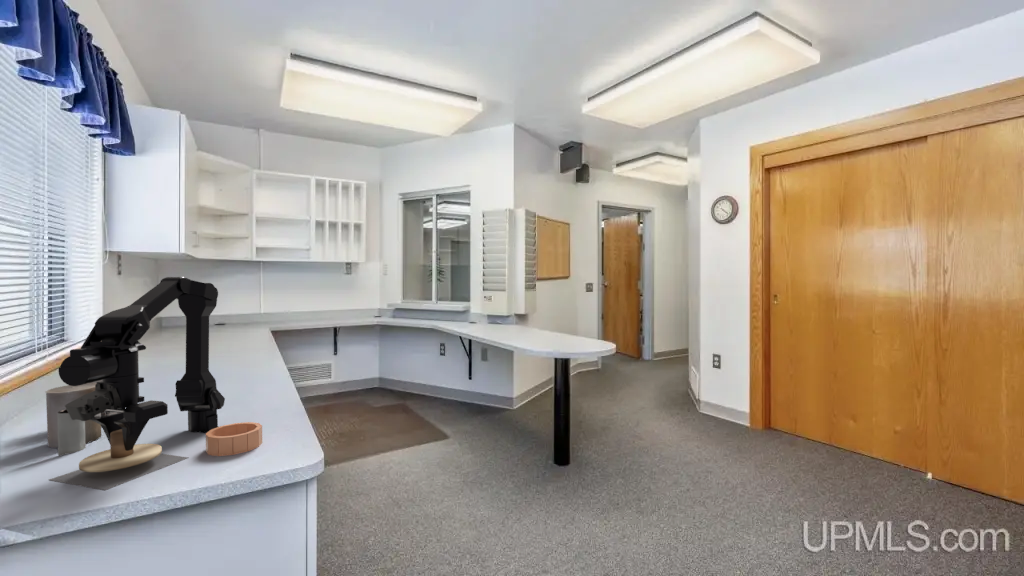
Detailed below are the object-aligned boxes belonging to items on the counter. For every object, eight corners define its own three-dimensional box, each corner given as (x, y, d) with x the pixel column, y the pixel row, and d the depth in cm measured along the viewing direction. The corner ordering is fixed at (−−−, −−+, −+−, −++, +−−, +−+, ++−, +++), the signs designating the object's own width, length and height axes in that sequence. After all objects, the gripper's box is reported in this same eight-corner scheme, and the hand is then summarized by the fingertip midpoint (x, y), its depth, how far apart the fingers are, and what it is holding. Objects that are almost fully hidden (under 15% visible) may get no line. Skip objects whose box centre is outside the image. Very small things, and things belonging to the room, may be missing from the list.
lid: (62, 467, 89) (61, 438, 88) (134, 444, 101) (133, 419, 101) (108, 475, 85) (107, 445, 85) (176, 450, 97) (176, 424, 97)
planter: (54, 459, 100) (53, 414, 100) (63, 452, 104) (62, 409, 104) (81, 455, 102) (80, 411, 102) (88, 449, 106) (87, 406, 106)
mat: (48, 484, 88) (48, 479, 88) (137, 454, 103) (137, 450, 103) (105, 495, 83) (105, 490, 83) (189, 462, 98) (188, 457, 98)
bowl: (194, 457, 101) (194, 435, 101) (237, 440, 112) (236, 420, 112) (232, 462, 98) (232, 439, 98) (272, 444, 109) (272, 424, 109)
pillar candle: (93, 432, 119) (91, 376, 118) (107, 438, 114) (105, 380, 113) (41, 444, 110) (39, 384, 110) (54, 451, 105) (52, 388, 105)
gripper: (41, 380, 88) (43, 459, 88) (107, 386, 82) (108, 470, 83) (106, 369, 98) (108, 439, 99) (168, 374, 93) (170, 448, 93)
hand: (122, 449), depth 93 cm, fingers closed on lid, 4 cm apart
